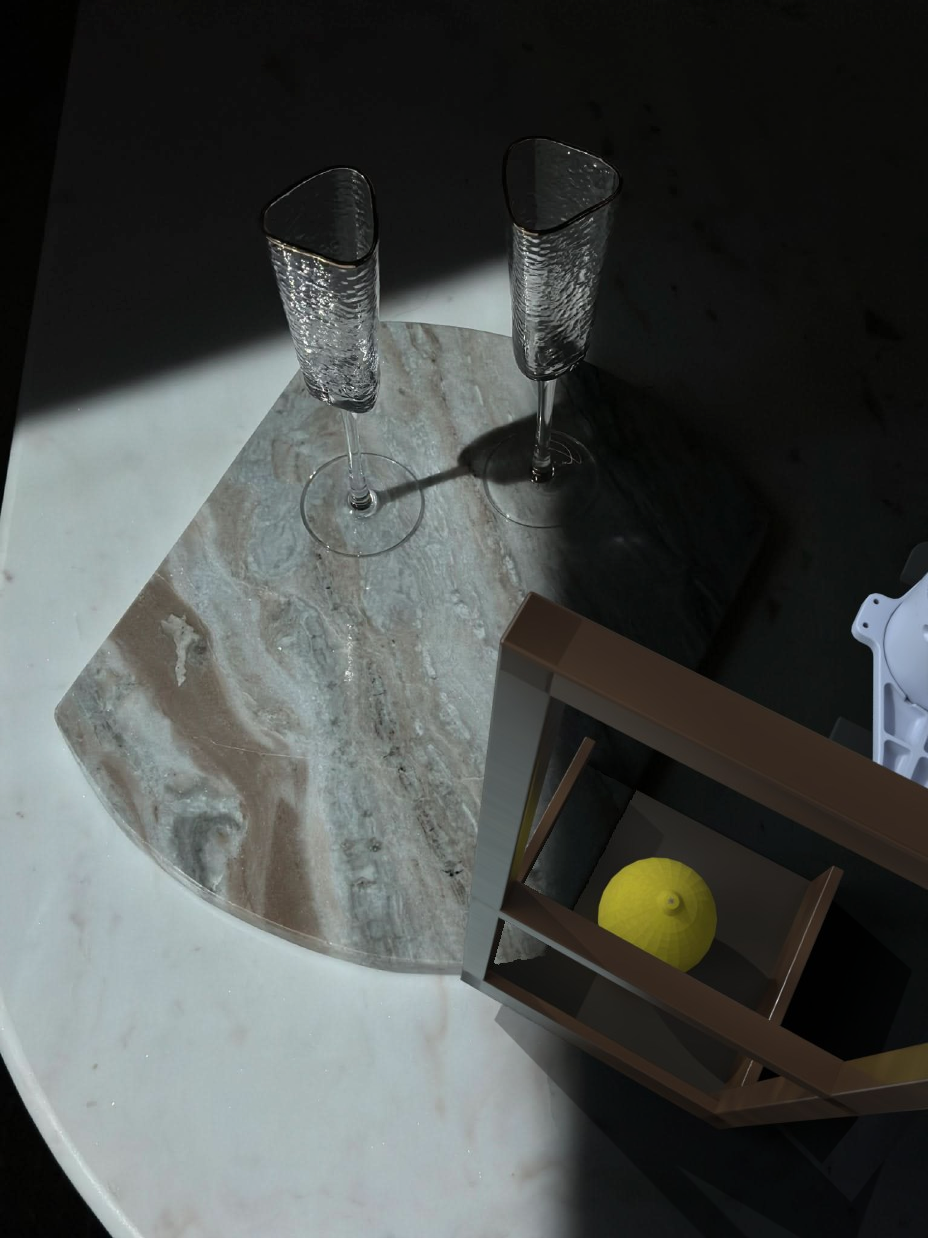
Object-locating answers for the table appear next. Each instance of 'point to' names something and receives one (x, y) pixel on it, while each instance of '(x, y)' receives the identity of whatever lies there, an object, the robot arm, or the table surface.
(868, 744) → the robot arm
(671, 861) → the lemon
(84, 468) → the table surface
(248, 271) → the table surface
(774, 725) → the rack
